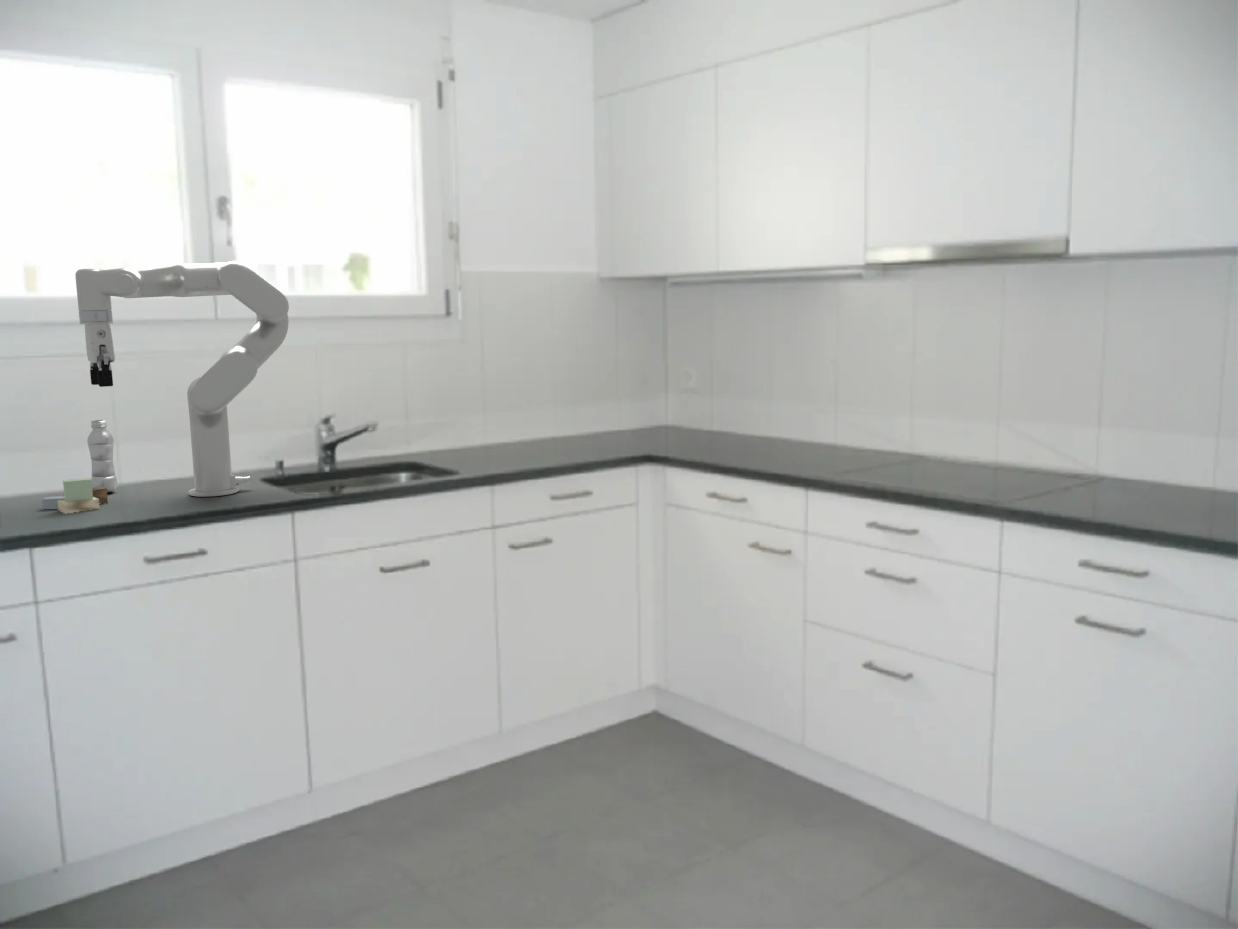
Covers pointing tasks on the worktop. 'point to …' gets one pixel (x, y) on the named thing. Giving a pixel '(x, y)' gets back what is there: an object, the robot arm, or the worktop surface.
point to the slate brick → (51, 502)
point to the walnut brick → (100, 494)
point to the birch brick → (78, 505)
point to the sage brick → (78, 489)
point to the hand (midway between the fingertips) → (102, 385)
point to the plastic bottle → (102, 456)
